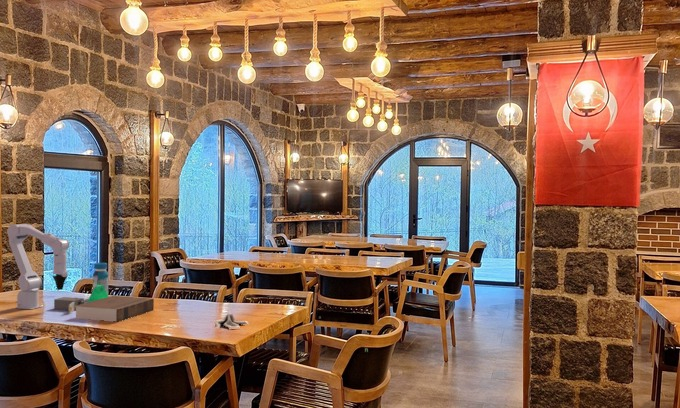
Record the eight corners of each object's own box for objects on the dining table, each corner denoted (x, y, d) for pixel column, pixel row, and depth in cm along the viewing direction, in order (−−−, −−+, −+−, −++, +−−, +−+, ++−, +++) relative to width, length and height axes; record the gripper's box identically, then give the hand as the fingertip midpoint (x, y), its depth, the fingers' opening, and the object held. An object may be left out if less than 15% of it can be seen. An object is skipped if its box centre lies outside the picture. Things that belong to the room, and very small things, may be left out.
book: (153, 311, 285) (153, 298, 284) (118, 323, 257) (118, 309, 257) (112, 308, 291) (112, 295, 291) (74, 319, 264) (74, 305, 264)
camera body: (54, 309, 284) (54, 298, 284) (63, 306, 291) (64, 295, 291) (76, 310, 281) (76, 299, 281) (86, 308, 288) (86, 297, 288)
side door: (71, 314, 273) (71, 305, 273) (68, 314, 273) (68, 305, 273) (75, 310, 282) (75, 301, 281) (72, 310, 281) (72, 301, 281)
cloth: (219, 320, 266) (219, 307, 266) (255, 323, 261) (255, 310, 261) (196, 331, 244) (196, 317, 244) (235, 334, 240) (235, 320, 240)
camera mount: (95, 307, 291) (95, 287, 291) (87, 305, 295) (87, 286, 295) (116, 303, 301) (116, 284, 301) (107, 302, 305) (108, 283, 305)
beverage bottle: (104, 299, 311) (104, 264, 311) (89, 299, 311) (89, 264, 311) (111, 297, 319) (111, 262, 319) (96, 296, 319) (96, 262, 319)
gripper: (73, 263, 281) (73, 290, 281) (62, 261, 291) (62, 286, 291) (59, 264, 276) (58, 292, 276) (48, 262, 286) (48, 288, 286)
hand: (59, 289), depth 283 cm, fingers closed
